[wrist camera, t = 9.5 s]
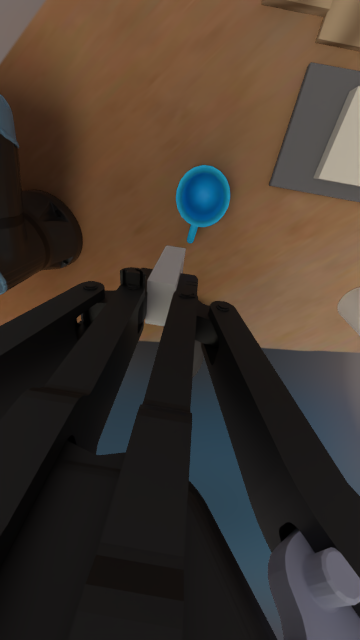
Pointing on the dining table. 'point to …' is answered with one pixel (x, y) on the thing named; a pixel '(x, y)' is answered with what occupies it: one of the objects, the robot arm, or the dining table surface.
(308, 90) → the mat
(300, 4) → the turner
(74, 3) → the dining table surface
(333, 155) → the tile
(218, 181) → the mug
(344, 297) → the cup
